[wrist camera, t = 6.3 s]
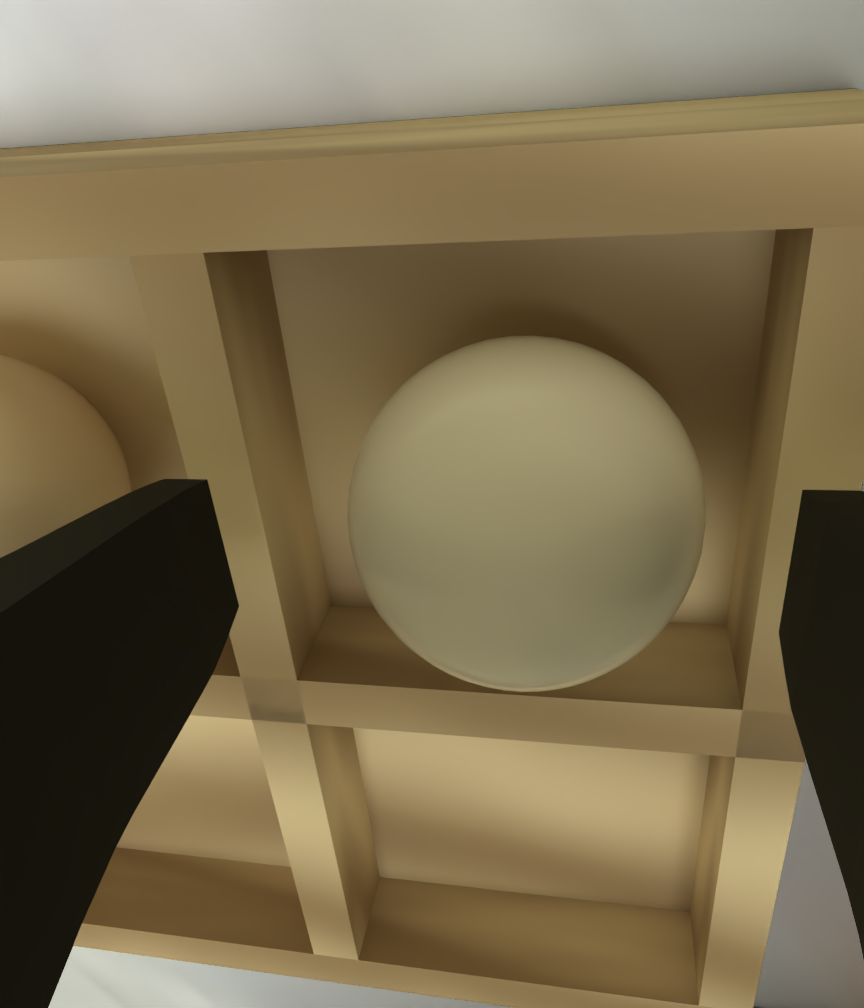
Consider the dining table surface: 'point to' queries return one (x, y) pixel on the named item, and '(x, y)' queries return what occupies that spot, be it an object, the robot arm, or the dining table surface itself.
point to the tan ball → (51, 455)
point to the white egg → (526, 513)
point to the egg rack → (329, 561)
